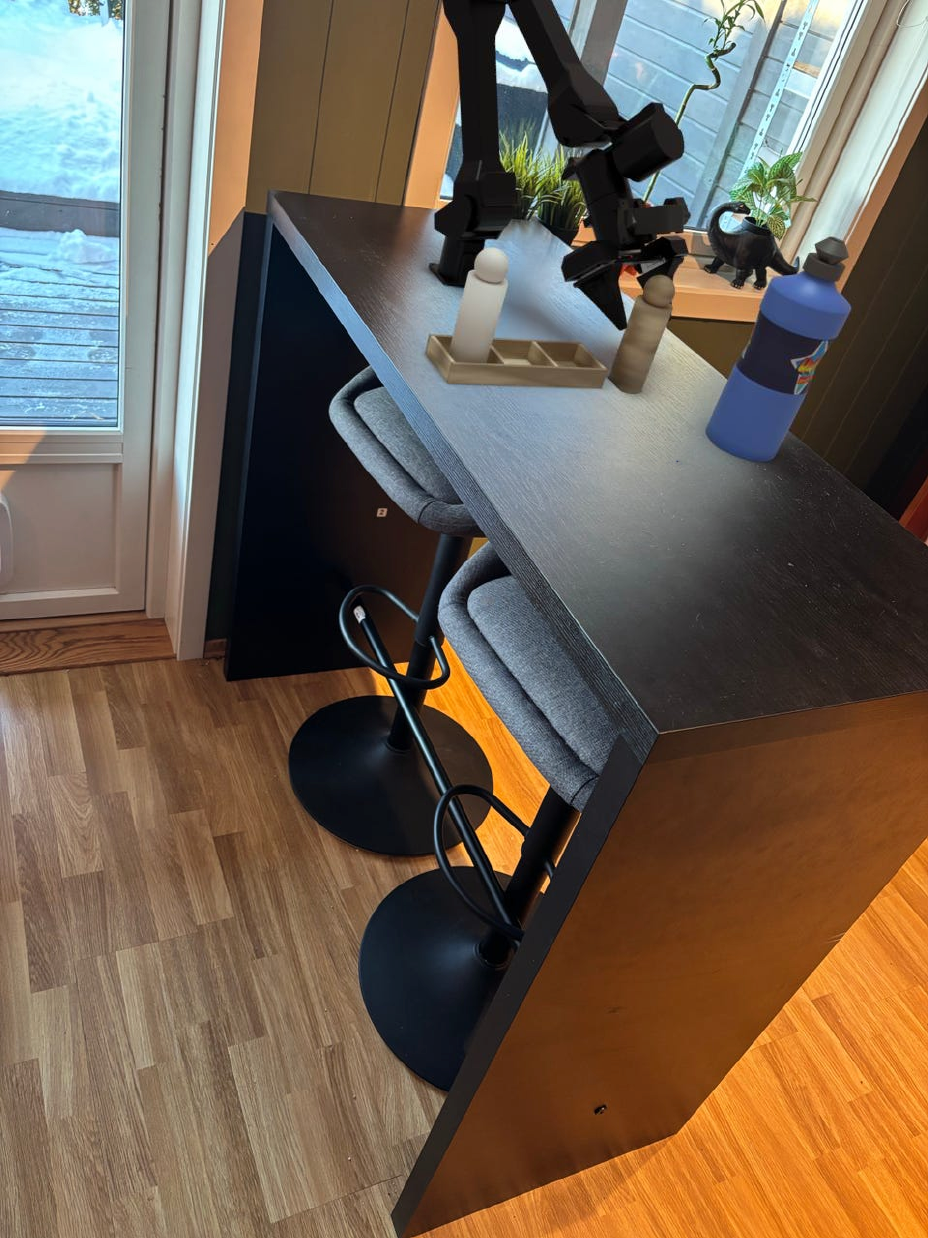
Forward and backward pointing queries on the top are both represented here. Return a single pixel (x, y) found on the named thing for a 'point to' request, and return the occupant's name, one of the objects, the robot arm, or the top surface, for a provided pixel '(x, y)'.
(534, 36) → the robot arm
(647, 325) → the pepper mill
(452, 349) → the salt mill
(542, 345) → the caddy
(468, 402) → the top surface
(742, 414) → the water bottle
